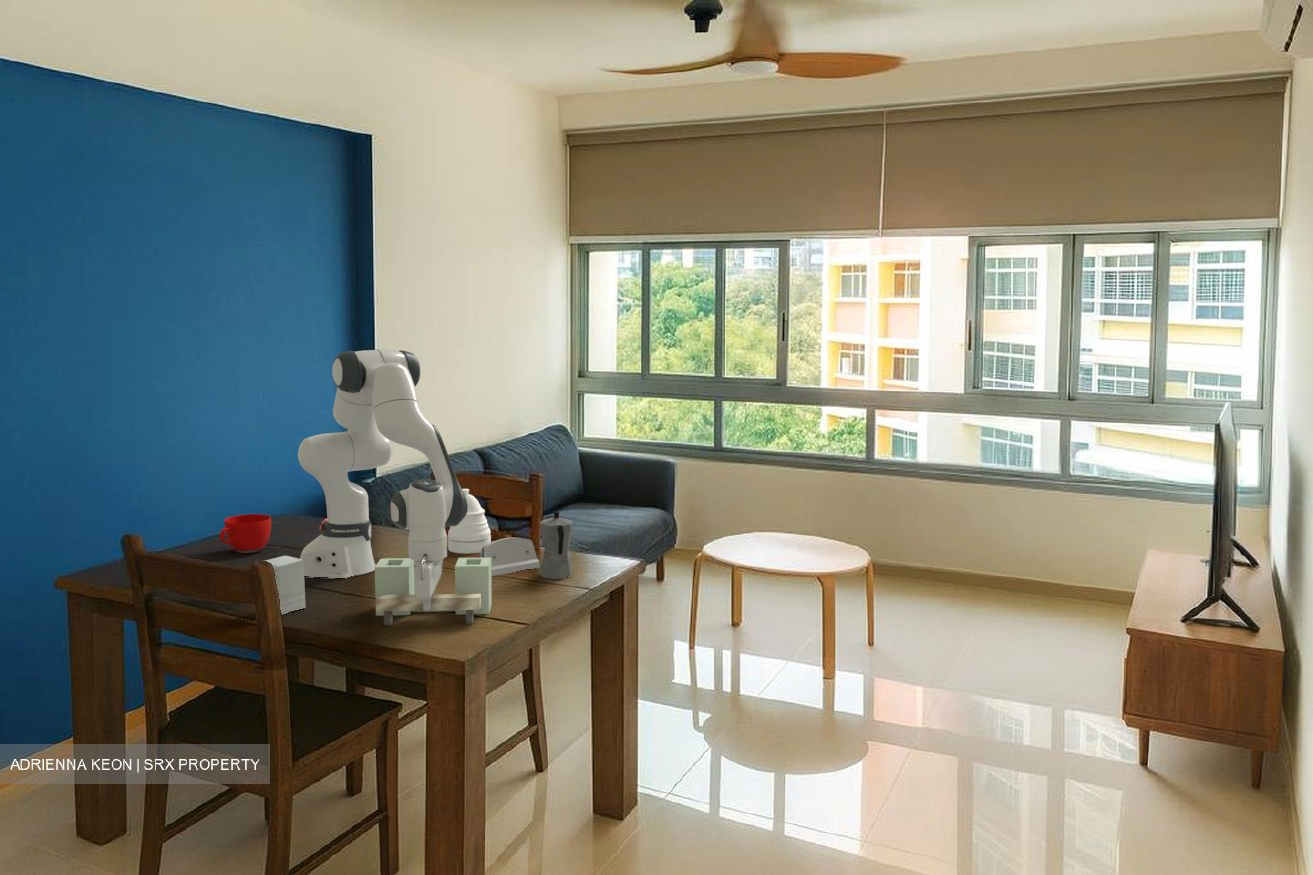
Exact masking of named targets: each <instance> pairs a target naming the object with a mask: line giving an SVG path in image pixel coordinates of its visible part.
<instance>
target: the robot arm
mask: <svg viewBox="0 0 1313 875" xmlns="http://www.w3.org/2000/svg"><path fill="white" fill-rule="evenodd" d="M420 365H421V364H420V361H419V359H418V357H417V356H416V355H415V354H414V353H413V352H411V351H406V350H401V349H400V350H391V349H371V350H370V349H369V350H365V349H364V350H357V351H354V350H347V351H343V352H340V353H338V354H336V356H335V358H334V359H333V362H332V367H331V368H332V372H331V373H332V374H331V375H332V380H333V383H334V385H335V386H336V388H337V389H336V392H335V397H334V398H335V399H334V401H333V402H334V404H333V408H332V413H333V414H332V415H333V418H334V420H335V421H336V423H338V425H340V426H341V427H343V429H346V430H347V431H343V432H342V431H340V432H328V433H327V432H326V433H320V434H316V435H312V436H309V437H305V438H304V439H303V440H302V441H301V443H300V444H299V447H298V451H297V458H298V462H299V464H300V466H301V468H302V469H303V470H304V471H305V472H307V473H308V474H310V475H311V476H313V477H314V478H315V480H317V481H318V482H319V484H320V486H321V488H322V491H323V494H324V496H325V504H326V515H327V517H326V518H324V519H323V520H322V521H321V523H320V526H319V531H320V535H318V536H317V537H316V538H315V539H313V540H311V542H309V543H308V544H307V545H306V546H305V547H304V548H303V549H302V551H301V553H300V556H299V559H302V560H303V562H304V576H309V577H308V578H314V577H328V578H327V579H335V578H345V579H348V577H349V578H351V576H352V577H355V575H356V576H361V575H365V574H368V573H371V572H375V566H376V565H377V564H376V563H375V559H374V556H373V550H372V545H371V544H372V543H371V539H372V523H371V519H370V518H369V516H370V515H369V495H368V492H367V491H366V489H365V488H364V487H362V486H361V485H359V484H356V483H354V482H351V481H350V480H349V476H348V474H349V472H354V471H356V472H357V471H367V470H372V469H376V468H378V467H382V466H385V465H387V464H388V463H389V461H390V459H391V457H392V454H393V444H392V442H393V443H395V444H398V445H400V446H401V445H402V446H406V447H409V448H412V449H414V450H417V451H419V452H420V453H422V454H423V455H425V457H426V459H427V460H428V461H429V465H430V467H431V470H432V472H433V476H434V477H435V479H434V480H433V479H428V478H424V479H423V478H422V479H416V480H414V481H413V482H411V483H410V484H409V486H408V488H406V489H403V490H400V491H399V490H398V491H397V492H395V494H394V495H393V496H392V497H391V499H390V501H389V519H390V521H391V523H392V524H393V525H394V526H396V527H397V528H399V529H401V530H406V531H407V530H408V531H409V533H408V537H407V540H408V541H407V542H408V546H407V548H408V550H407V551H408V558H410V559H411V560H414V595H415V599H422V601H423V610H425V611H429V610H431V608H432V601H431V596H432V594H436V587H437V585H438V583H439V580H441V577H442V572H443V564H444V559H445V558H447V557H448V535H447V534H448V533H447V531H446V527H450V526H457V525H458V524H459V523H460V522H461V521H462V520H463V519H464V517H465V516H466V514H467V511H468V505H467V500H466V497H465V494H464V492H463V490H462V489H463V488H462V487H461V485H460V483H459V481H458V479H457V475H456V473H455V470H454V467H453V464H452V461H451V459H450V456H449V453H448V451H447V448H446V445H445V443H444V440H443V438H442V436H441V434H440V432H439V429H438V427H437V426H436V425H434V424H432V423H431V422H429V421H428V420H427V418H426V417H425V415H424V413H423V411H422V410H421V407H420V402H419V398H418V397H419V396H418V393H417V390H416V389H417V388H416V387H417V385H418V384H419V382H420V378H421V366H420Z"/></svg>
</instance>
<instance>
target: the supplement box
mask: <svg viewBox="0 0 1313 875" xmlns="http://www.w3.org/2000/svg"><path fill="white" fill-rule="evenodd" d="M264 561H267V562H269V563H271V564H272V566H273V568H274V572H275V579H276V584H277V589H278V593H279V599H280V610H281V613H282V615H283V614H286V613H288V612H290V611H294V610H299V609H303V608H306V589H305V587H306V586H305V577H304V562H303V560H302V559H300V558H297V557H293V556H289V555H280V556H278V557H274V558H270V559H266V560H264ZM306 609H307V608H306Z"/></svg>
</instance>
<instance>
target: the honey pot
mask: <svg viewBox="0 0 1313 875" xmlns="http://www.w3.org/2000/svg"><path fill="white" fill-rule="evenodd" d="M462 490H463V492H464V494H465V497H466V500H467V505H468V511H467V514H466V516H465V517H464V519H463V520H462V521H461V522H460V523H459V524H458V525H457V526H449V530H448V532H447V534H448V535H447V551H449V552H450V553H455V554H465V555H466V554H481V549H482V548H483V547H484V546H486V545H487V544H489V543H491V542H492V535H491V529H490V528H489V523H488V519H487V518H486V516H485V513H486V511H485V509H484V508H483V507H482V506H481V504H480V503H479V500H478V499H477V498H476V497H475V496H474V495H472V494H470V489H469V488H462Z"/></svg>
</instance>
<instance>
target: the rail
mask: <svg viewBox="0 0 1313 875" xmlns="http://www.w3.org/2000/svg"><path fill="white" fill-rule="evenodd" d="M431 601H432V608H431V610H466V614H465V625H473V623H474V616H475V614H474V610H480V607H481V594H455V593H435V594H432V596H431ZM376 611H384V615H383V626H391V625H392V623H393V620H394V619H393V616H394V615H393V611H425V610H423V601H422V599H415V595H378V596H377V597H376V596H375V612H376Z"/></svg>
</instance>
